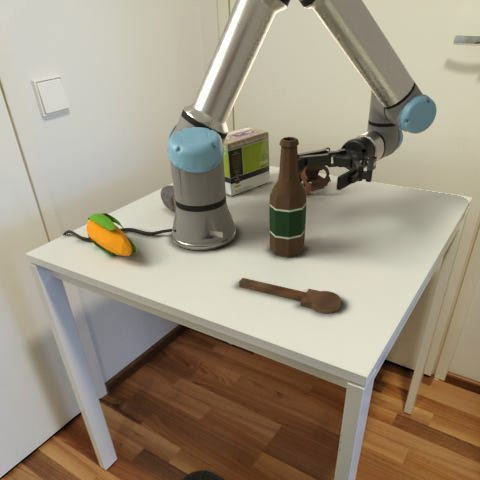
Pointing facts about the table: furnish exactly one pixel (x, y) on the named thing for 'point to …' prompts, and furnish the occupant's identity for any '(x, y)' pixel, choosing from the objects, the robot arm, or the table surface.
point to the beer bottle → (287, 204)
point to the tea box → (245, 159)
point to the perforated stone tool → (169, 197)
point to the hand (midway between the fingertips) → (311, 177)
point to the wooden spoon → (298, 295)
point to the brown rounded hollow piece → (314, 178)
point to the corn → (109, 235)
